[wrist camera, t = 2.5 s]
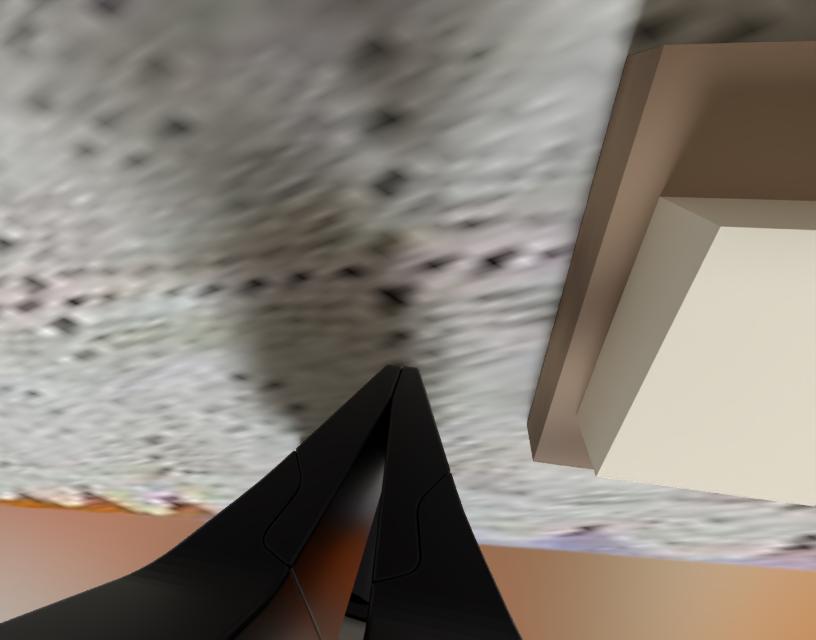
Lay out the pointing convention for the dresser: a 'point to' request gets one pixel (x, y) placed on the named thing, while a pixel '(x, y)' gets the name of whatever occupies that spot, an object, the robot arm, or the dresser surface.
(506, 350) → the dresser surface
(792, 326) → the tile
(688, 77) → the board
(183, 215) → the dresser surface
